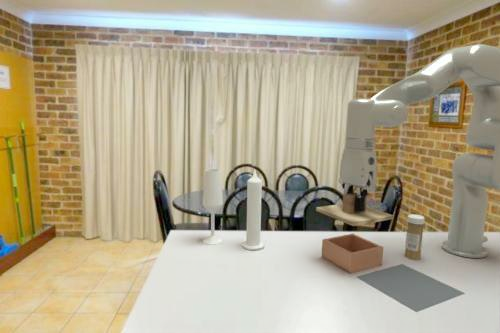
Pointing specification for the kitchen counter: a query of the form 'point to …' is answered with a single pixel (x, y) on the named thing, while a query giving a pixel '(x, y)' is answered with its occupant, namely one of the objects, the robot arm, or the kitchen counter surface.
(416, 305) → the mat
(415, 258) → the sprinkles bottle
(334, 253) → the open wooden tray
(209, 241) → the champagne flute
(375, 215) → the lid
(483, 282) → the kitchen counter surface
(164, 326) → the kitchen counter surface
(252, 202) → the candle
